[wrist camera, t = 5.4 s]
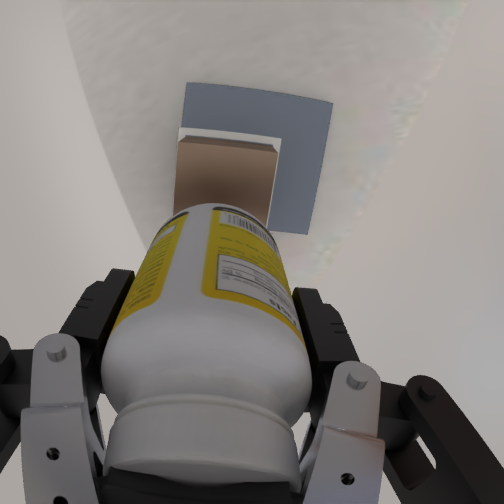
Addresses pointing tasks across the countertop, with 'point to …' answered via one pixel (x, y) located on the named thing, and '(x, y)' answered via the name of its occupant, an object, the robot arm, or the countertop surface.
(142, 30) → the countertop surface
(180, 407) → the supplement bottle
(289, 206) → the mat
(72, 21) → the countertop surface
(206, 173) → the walnut block
